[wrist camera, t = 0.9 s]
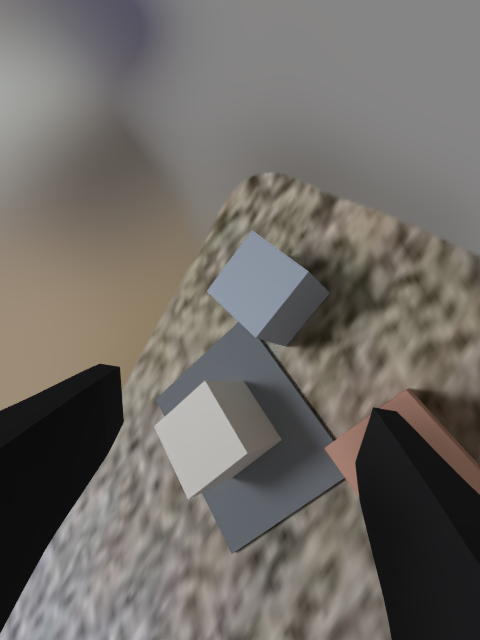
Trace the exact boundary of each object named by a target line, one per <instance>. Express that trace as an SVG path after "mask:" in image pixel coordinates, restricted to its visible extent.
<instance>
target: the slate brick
mask: <svg viewBox="0 0 480 640" xmlns="http://www.w3.org/2000/svg"><path fill="white" fill-rule="evenodd" d="M207 292H208V293H209V294H210V295H211V296H212V297H213V298H214V299H215V300H217V301H218V302H219V303H220V304H221V305H222V306H223V307H224V308H225V309H226V310H227V311H228V312H229V313H230V314H231V315H232V316H233V317H234V318H235V319H236V320H237V321H238V322H240V323H241V324H242V325H243V326H244V327H245V328H246V329H247V330H248V331H249V332H250V333H251V334H252V335H253V336H254V337H255V338H258V339H261V340H265V341H268V342H272V343H275V344H279V345H282V346H287V345H288V343H289V342H290V341H291V340H292V339H293V337H294V336H295V335H296V334H297V332H298V331H299V330H300V329H301V328H302V326H303V325H304V324H305V323H306V322H307V320H308V319H309V318H310V317H311V316H312V314H313V313H314V312H315V311H316V309H317V308H318V307H319V306H320V305H321V303H322V302H323V301H324V300H325V299H326V297H327V296H328V295H329V294H330V292H329V291H328V290H327V289H326V288H325V287H324V286H323V285H322V284H321V283H320V282H319V281H318V280H317V279H316V278H315V277H314V276H313V275H312V274H311V273H310V272H309V271H307V270H306V269H305V268H303V267H302V266H300V265H299V264H298V263H296V262H295V261H294V260H292V259H291V258H289V257H288V256H287V255H285V254H284V253H283V252H281V251H280V250H278V249H277V248H276V247H274V246H273V245H272V244H270V243H269V242H267V241H266V240H265V239H263V238H262V237H261V236H259V235H258V234H256V233H255V232H254V231H251V232H250V233H249V235H248V236H247V238H246V239H245V240H244V242H243V243H242V244H241V246H240V247H239V248H238V250H237V251H236V252H235V254H234V255H233V257H232V258H231V259H230V261H229V262H228V263H227V265H226V266H225V267H224V269H223V270H222V271H221V273H220V274H219V275H218V277H217V278H216V280H215V281H214V282H213V284H212V285H211V286H210V288H209V289H208V290H207Z"/></svg>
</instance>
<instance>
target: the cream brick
mask: <svg viewBox="0 0 480 640" xmlns="http://www.w3.org/2000/svg"><path fill="white" fill-rule="evenodd" d="M154 427H155V429H156V432H157V434H158V436H159V438H160V440H161V442H162V444H163V447H164V449H165V451H166V453H167V455H168V457H169V459H170V462H171V464H172V466H173V468H174V470H175V472H176V474H177V477H178V479H179V481H180V483H181V485H182V487H183V489H184V492H185V494H186V496H187V498H188V499H190V498H192V497H194V496H196V495H198V494H200V493H202V492H204V491H206V490H208V489H210V488H213V487H215V486H217V485H219V484H221V483H223V482H225V481H227V480H229V479H231V478H233V477H234V476H235V475H236V474H238V473H239V472H240V471H242V470H243V469H244V468H246V467H247V466H248V465H250V464H251V463H252V462H253V461H255V460H256V459H257V458H259V457H260V456H261V455H263V454H264V453H265V452H267V451H268V450H269V449H270V448H272V447H273V446H274V445H276V444H277V443H278V442H280V441H281V440H282V439H281V437H280V436H279V434H278V433H277V431H276V430H275V428H274V427H273V425H272V424H271V422H270V420H269V419H268V417H267V416H266V414H265V413H264V411H263V410H262V408H261V407H260V405H259V404H258V402H257V400H256V399H255V397H254V396H253V394H252V393H251V391H250V390H249V388H248V387H247V385H246V384H245V382H244V381H204V382H203V383H202V384H200V385H199V386H198V387H197V388H196V389H195V390H194V391H193V392H192V393H191V394H189V395H188V396H187V397H186V398H185V399H184V400H183V401H182V402H181V403H179V404H178V405H177V406H176V407H175V408H174V409H173V410H172V411H171V412H170V413H168V414H167V415H166V416H165V417H164V418H163V419H162V420H161V421H160V422H158V423H157V424H156V425H155V426H154Z"/></svg>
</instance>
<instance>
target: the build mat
mask: <svg viewBox="0 0 480 640" xmlns="http://www.w3.org/2000/svg"><path fill="white" fill-rule="evenodd" d="M204 381H244V382H245V384H246V385H247V387H248V388H249V390H250V391H251V393H252V394H253V396H254V397H255V399H256V400H257V402H258V404H259V405H260V407H261V408H262V410H263V411H264V413H265V414H266V416H267V417H268V419H269V420H270V422H271V424H272V425H273V427H274V428H275V430H276V431H277V433H278V434H279V436H280V437H281V439H282V440H281V441H280V442H278V443H277V444H276V445H274V446H273V447H272V448H270V449H269V450H268V451H267V452H265V453H264V454H263V455H261V456H260V457H259V458H257V459H256V460H255V461H253V462H252V463H251V464H250V465H248V466H247V467H246V468H244V469H243V470H242V471H240V472H239V473H238V474H236V475H235V476H234V477H233V478H231V479H229V480H227V481H225V482H223V483H221V484H219V485H217V486H215V487H213V488H210V489H208V490H206V491H204V492H202V494H203V496H204V498H205V500H206V502H207V504H208V506H209V508H210V510H211V512H212V514H213V516H214V518H215V520H216V522H217V524H218V526H219V528H220V530H221V532H222V534H223V536H224V538H225V541H226V543H227V545H228V547H229V549H230V551H231V553H232V554H233V553H234V552H236V551H237V550H239V549H240V548H242V547H243V546H245V545H246V544H247V543H249V542H250V541H252V540H253V539H255V538H256V537H258V536H259V535H261V534H262V533H264V532H265V531H267V530H268V529H270V528H271V527H273V526H274V525H276V524H277V523H278V522H280V521H281V520H283V519H284V518H286V517H287V516H289V515H290V514H292V513H293V512H295V511H296V510H298V509H299V508H301V507H302V506H304V505H305V504H307V503H308V502H309V501H311V500H312V499H314V498H315V497H317V496H318V495H320V494H321V493H323V492H324V491H326V490H327V489H329V488H330V487H332V486H333V485H335V484H336V483H338V482H339V481H340V480H342V479H343V478H345V477H344V476H343V474H342V473H341V471H340V470H339V469H338V467H337V466H336V464H335V463H334V462H333V460H332V459H331V457H330V456H329V454H328V453H327V452H326V450H325V449H324V448H325V447H327V446H328V445H329V444H331V443H332V442H334V439H333V438H332V437H331V435H330V434H329V433H328V431H327V430H326V428H325V427H324V426H323V424H322V423H321V422H320V420H319V419H318V417H317V416H316V415H315V413H314V412H313V411H312V409H311V408H310V406H309V405H308V404H307V402H306V401H305V400H304V398H303V397H302V395H301V394H300V393H299V391H298V390H297V389H296V387H295V386H294V384H293V383H292V382H291V380H290V379H289V378H288V376H287V375H286V373H285V372H284V371H283V369H282V368H281V367H280V365H279V364H278V362H277V361H276V360H275V358H274V357H273V356H272V354H271V353H270V351H269V350H268V349H267V347H266V346H265V345H264V343H263V342H262V340H261V339H258V338H255V337H254V336H253V335H252V334H251V333H250V332H249V331H248V330H247V329H246V328H245V327H244V326H243V325H242V324H241V323H240V322H238V323H237V324H236V325H235V326H234V327H233V328H232V329H231V330H229V331H228V332H227V333H226V334H225V335H224V336H223V337H222V338H221V339H220V340H219V341H218V342H217V343H216V344H215V345H213V346H212V347H211V348H210V349H209V350H208V351H207V352H206V353H205V354H204V355H203V356H202V357H201V358H200V359H198V360H197V361H196V362H195V363H194V364H193V365H192V366H191V367H190V368H189V369H188V370H187V371H186V372H185V373H184V374H182V375H181V376H180V377H179V378H178V379H177V380H176V381H175V382H174V383H173V384H172V385H171V386H170V387H169V388H168V389H166V390H165V391H164V392H163V393H162V394H161V395H160V396H159V397H158V398H157V399H156V400H157V402H158V404H159V406H160V408H161V410H162V412H163V414H164V416H166V415H167V414H168V413H170V412H171V411H172V410H173V409H174V408H175V407H176V406H177V405H178V404H179V403H181V402H182V401H183V400H184V399H185V398H186V397H187V396H188V395H189V394H191V393H192V392H193V391H194V390H195V389H196V388H197V387H198V386H199V385H200V384H202V383H203V382H204Z"/></svg>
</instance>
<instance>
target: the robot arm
mask: <svg viewBox="0 0 480 640" xmlns="http://www.w3.org/2000/svg"><path fill="white" fill-rule="evenodd" d="M123 422H124V419H123V405H122V390H121V376H120V367H117V366H111V365H104V364H98V365H96V366H93V367H91V368H89V369H87V370H85V371H83V372H80V373H78V374H76V375H75V376H72V377H70V378H68V379H66V380H64V381H62V382H60V383H58V384H56V385H54V386H52V387H50V388H48V389H46V390H44V391H42V392H40V393H38V394H36V395H34V396H32V397H29V398H27V399H26V400H23V401H21V402H19V403H17V404H14V405H13V406H10V407H8V408H5V409H3V410H1V411H0V633H1V631H2V629H3V627H4V625H5V623H6V621H7V620H8V618H9V616H10V614H11V612H12V610H13V608H14V606H15V604H16V602H17V600H18V599H19V597H20V595H21V593H22V591H23V589H24V587H25V586H26V584H27V582H28V580H29V578H30V577H31V575H32V573H33V571H34V569H35V567H36V566H37V564H38V562H39V560H40V558H41V557H42V555H43V553H44V551H45V549H46V548H47V546H48V544H49V543H50V541H51V540H52V538H53V536H54V535H55V533H56V532H57V530H58V528H59V527H60V525H61V524H62V522H63V521H64V519H65V518H66V516H67V515H68V513H69V512H70V510H71V509H72V507H73V506H74V504H75V503H76V501H77V500H78V498H79V497H80V495H81V494H82V492H83V491H84V489H85V488H86V486H87V485H88V484H89V482H90V481H91V479H92V477H93V476H94V474H95V473H96V471H97V470H98V468H99V467H100V465H101V464H102V462H103V461H104V459H105V458H106V456H107V454H108V453H109V451H110V449H111V447H112V445H113V443H114V441H115V439H116V437H117V435H118V433H119V431H120V429H121V427H122V425H123ZM355 466H356V475H357V484H358V491H359V499H360V504H361V508H362V512H363V516H364V520H365V525H366V529H367V533H368V537H369V541H370V545H371V549H372V553H373V557H374V561H375V565H376V569H377V573H378V577H379V581H380V585H381V589H382V593H383V597H384V602H385V606H386V611H387V616H388V621H389V626H390V632H391V638H392V640H480V494H479V493H478V492H477V491H476V490H474V489H473V488H472V487H471V486H470V485H469V484H468V483H467V482H466V481H465V480H464V479H463V478H462V477H461V476H460V475H459V474H458V473H457V472H456V471H455V470H454V469H453V468H452V467H451V466H450V465H449V464H448V463H447V462H446V461H445V460H444V459H443V458H442V457H441V456H440V455H439V454H438V453H437V452H436V451H435V450H434V449H433V448H432V447H431V446H430V445H429V444H428V442H427V441H426V440H425V439H424V438H423V437H422V436H421V435H420V434H419V433H418V432H417V431H416V430H415V429H414V428H413V427H412V426H411V425H410V424H409V423H408V422H407V421H406V420H405V419H404V418H403V417H402V416H401V415H400V414H399V413H398V412H397V411H392V410H386V409H380V408H374V407H373V410H372V413H371V416H370V419H369V422H368V425H367V428H366V431H365V434H364V437H363V440H362V443H361V446H360V449H359V452H358V455H357V458H356V461H355Z"/></svg>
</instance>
